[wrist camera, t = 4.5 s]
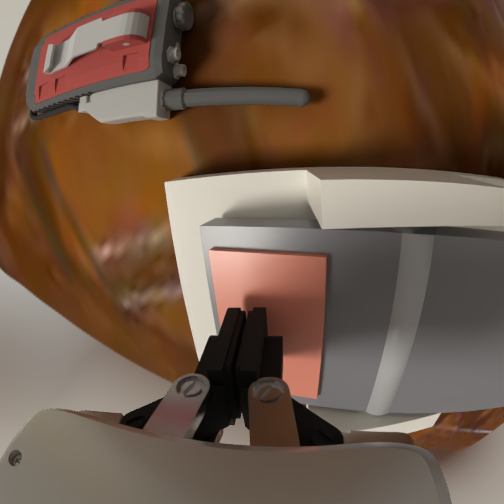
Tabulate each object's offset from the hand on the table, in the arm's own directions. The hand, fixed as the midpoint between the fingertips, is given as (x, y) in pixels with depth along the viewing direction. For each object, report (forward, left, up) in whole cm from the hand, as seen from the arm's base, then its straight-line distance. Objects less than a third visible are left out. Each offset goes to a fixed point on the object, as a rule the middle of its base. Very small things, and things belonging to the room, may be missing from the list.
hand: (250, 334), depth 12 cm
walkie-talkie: (+6, -15, -6) cm, 17 cm away
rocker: (-7, 0, 0) cm, 7 cm away
